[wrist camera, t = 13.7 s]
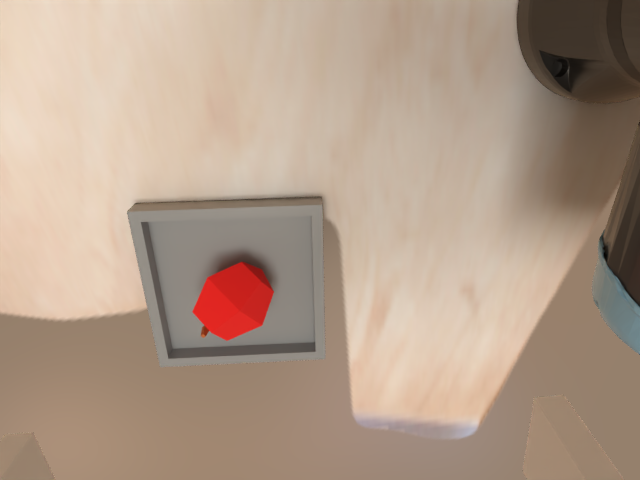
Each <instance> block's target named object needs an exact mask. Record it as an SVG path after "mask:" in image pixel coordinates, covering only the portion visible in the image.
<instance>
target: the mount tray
mask: <svg viewBox="0 0 640 480" xmlns="http://www.w3.org/2000/svg"><path fill="white" fill-rule="evenodd" d="M127 214H128V219H129V224H130V228H131V233H132V238H133V242H134V247H135V252H136V256H137V261H138V266H139V271H140V275H141V280H142V285H143V289H144V294H145V299H146V303H147V308H148V312H149V317H150V322H151V327H152V331H153V336H154V341H155V346H156V350H157V355H158V359H159V364H160V367H173V366H193V365H213V364H235V363H254V362H277V361H297V360H317V359H325V314H324V313H325V308H324V261H323V260H324V258H323V257H324V256H323V205H322V198H321V197H300V198H272V199H244V200H215V201H187V202H158V203H135V204H134V205H133V206H132V207H131V208H130V209H129V210H128V211H127ZM240 262H245V263H248V264H250V265H252V266H255V267H257V268H259V269H262V270H263V272H264V274H265V276H266V278H267V280H268V282H269V283H270V285H271V287H272V289H273V291H274V293H273V296H272V299H271V302H270V305H269V308H268V311H267V314H266V317H265V319H264V322H263V325H262V326H260V327H258V328H256V329H253V330H251V331H249V332H246V333H244V334H242V335H239V336H237V337H235V338H233V339H230V340H228V341H226V340H224V339H222V338H220V337H218V336H216V335H214V334H212V333H211V332H210V331H209V332H208V334H207V336H206V337H204V338H203V337H201V331H202V327H203V326H204V324H203V323H202V322H201V321H200V320H199V319H198V318H197V317H196V316H195V315H194V314H193V312H192V311H193V309H194V307H195V305H196V302H197V300H198V298H199V295H200V293H201V291H202V289H203V286H204V284H205V282H206V279H207V277H209V276H212V275H214V274H216V273H218V272H220V271H222V270H225V269H227V268H229V267H231V266H233V265H235V264H238V263H240Z"/></svg>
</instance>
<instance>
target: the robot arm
mask: <svg viewBox="0 0 640 480" xmlns="http://www.w3.org/2000/svg"><path fill="white" fill-rule="evenodd" d="M517 23H518V36H519V42H520V47H521V50H522V53H523V56H524V59H525V61H526V63H527V65H528V67H529V68H530V70H531V72H532V73H533V74H534V76H535V77H536V78H537V79H538V80H539V81H540V82H541V83H542V84H543V85H544V86H545V87H546V88H548V89H549V90H551V91H552V92H554V93H556V94H558V95H560V96H563V97H566V98H569V99H573V100H578V101H583V102H588V103H615V102H622V101H626V100H630V99H633V98H637V97H640V0H519V6H518V19H517ZM598 255H599V256H598V261H597V265H596V268H595V272H594V276H593V281H592V295H593V299H594V302H595V304H596V306H597V307H598V309H599V310H600V313H601V316H602V318H603V320H604V321H605V322H606V324H607V325H608V326H609V327H610V328H611V330H612V331H613V332H614V333H615V334H616V335H617V336H618V337H619V338H620V339H621V340H622V341H623V342H624V343H626V344H627V345H628V346H629V347H630V348H632V349H633V350H634V351H635V352H637V353H638V354H639V355H640V122H639V124H638V127H637V130H636V133H635V137H634V140H633V143H632V147H631V150H630V153H629V156H628V160H627V163H626V166H625V170H624V173H623V176H622V179H621V183H620V186H619V189H618V192H617V195H616V198H615V201H614V205H613V207H612V210H611V214H610V217H609V220H608V223H607V226H606V229H605V230H604V231H603V233H602V235H601V237H600V239H599V242H598ZM522 471H523V473H524V475H525V477H526V479H527V480H624V479H623V477H622V476H621V474H620V473H619V472H618V470H617V469H616V468H615V466H614V465H613V463H612V462H611V460H610V459H609V458H608V456H607V455H606V453H605V452H604V451H603V449H602V448H601V446H600V445H599V443H598V442H597V441H596V439H595V438H594V436H593V435H592V434H591V432H590V431H589V430H588V428H587V427H586V425H585V424H584V422H583V421H582V420H581V419H580V417H579V415H578V414H577V413H576V411H575V410H574V408H573V407H572V406H571V404H570V403H569V401H568V400H567V399H566V397H565V396H564V395H556V396H541V397H534V401H533V408H532V414H531V420H530V426H529V433H528V439H527V445H526V452H525V458H524V464H523V470H522ZM0 480H55V477H54V475H53V473H52V471H51V469H50V467H49V464H48V462H47V460H46V458H45V456H44V454H43V452H42V449H41V447H40V445H39V443H38V441H37V439H36V437H35V435H34V433H33V432H31V433H17V434H5V435H4V436H3V437H2V439H1V440H0Z"/></svg>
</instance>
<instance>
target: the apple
mask: <svg viewBox="0 0 640 480" xmlns="http://www.w3.org/2000/svg"><path fill="white" fill-rule="evenodd" d="M273 293H274V291H273V289H272V287H271V285H270V283H269V282H268V280H267V278H266V276H265V274H264V272H263V270H262V269H259V268H257V267H255V266H252V265H250V264H248V263H245V262H240V263H238V264H235V265H233V266H231V267H229V268H227V269H225V270H222V271H220V272H218V273H216V274H214V275H212V276H209V277H207V279H206V282H205V284H204V286H203V289H202V291H201V293H200V295H199V298H198V300H197V302H196V305H195V307H194V309H193V311H192V312H193V314H194V315H195V316H196V317H197V318H198V319H199V320H200V321H201V322H202V323H203V324H204V326H203V327H202V331H201V337H203V338H204V337H206V336H207V334H208V332H209V331H210V332H211V333H212V334H214V335H216V336H218V337H220V338H222V339H224V340H226V341H228V340H230V339H233V338H235V337H237V336H239V335H242V334H244V333H246V332H249V331H251V330H253V329H256V328H258V327H260V326H262V325H263V322H264V319H265V317H266V314H267V311H268V308H269V305H270V302H271V299H272V296H273Z"/></svg>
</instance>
